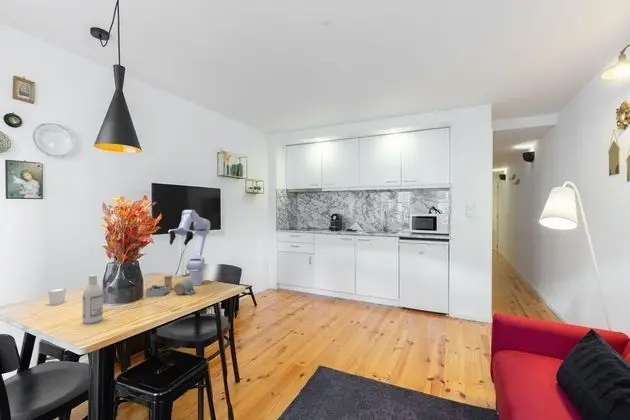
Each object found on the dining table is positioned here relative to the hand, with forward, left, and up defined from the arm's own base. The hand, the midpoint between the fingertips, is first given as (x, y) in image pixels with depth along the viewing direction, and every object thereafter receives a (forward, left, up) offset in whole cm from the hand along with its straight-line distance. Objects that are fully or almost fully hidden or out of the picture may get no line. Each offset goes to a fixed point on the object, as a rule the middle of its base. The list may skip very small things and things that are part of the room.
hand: (177, 243), depth 162 cm
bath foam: (+33, -25, -30) cm, 51 cm away
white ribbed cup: (+5, -58, -30) cm, 65 cm away
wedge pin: (-16, -11, -30) cm, 36 cm away
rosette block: (-7, -13, -30) cm, 33 cm away
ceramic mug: (-6, +2, -30) cm, 31 cm away
